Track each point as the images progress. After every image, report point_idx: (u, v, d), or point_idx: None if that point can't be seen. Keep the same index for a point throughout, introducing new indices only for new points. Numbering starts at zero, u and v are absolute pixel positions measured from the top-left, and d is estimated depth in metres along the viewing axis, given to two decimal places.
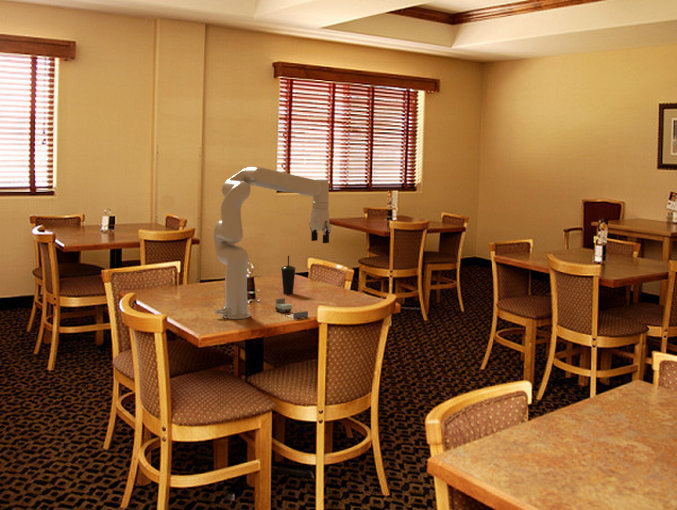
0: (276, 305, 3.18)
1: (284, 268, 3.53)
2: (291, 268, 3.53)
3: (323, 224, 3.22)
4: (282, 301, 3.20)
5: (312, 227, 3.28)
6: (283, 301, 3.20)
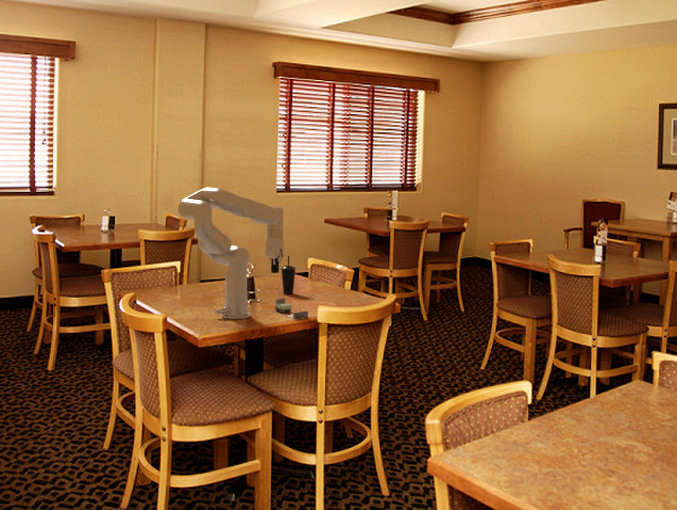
0: (276, 305, 3.18)
1: (284, 268, 3.53)
2: (291, 268, 3.53)
3: (276, 257, 3.17)
4: (282, 301, 3.20)
5: (267, 255, 3.21)
6: (283, 301, 3.20)
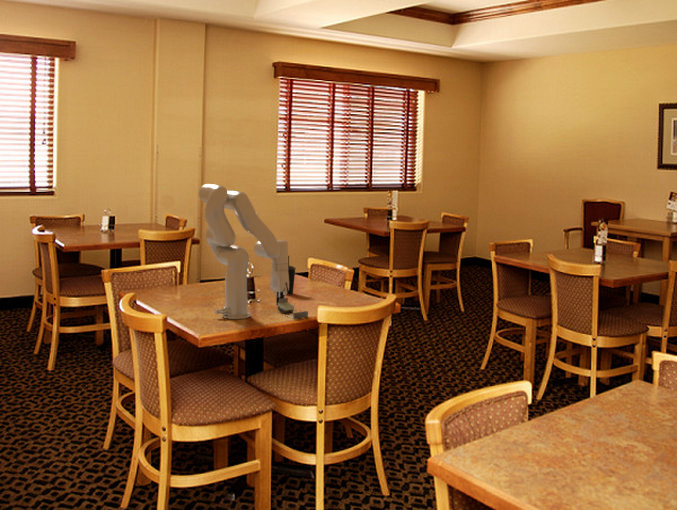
0: (279, 305, 3.17)
1: None
2: (291, 268, 3.53)
3: (281, 291, 3.16)
4: (285, 301, 3.19)
5: (272, 288, 3.20)
6: (286, 301, 3.19)
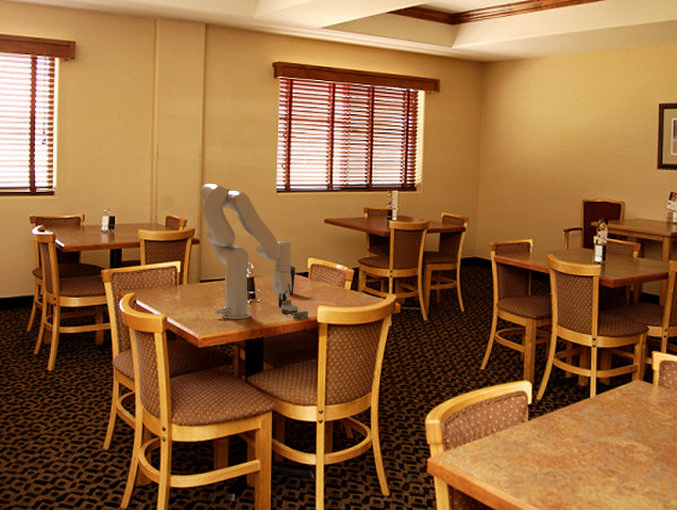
0: (282, 307, 3.15)
1: None
2: (291, 268, 3.53)
3: (284, 292, 3.14)
4: (288, 303, 3.17)
5: (274, 290, 3.18)
6: (289, 303, 3.17)
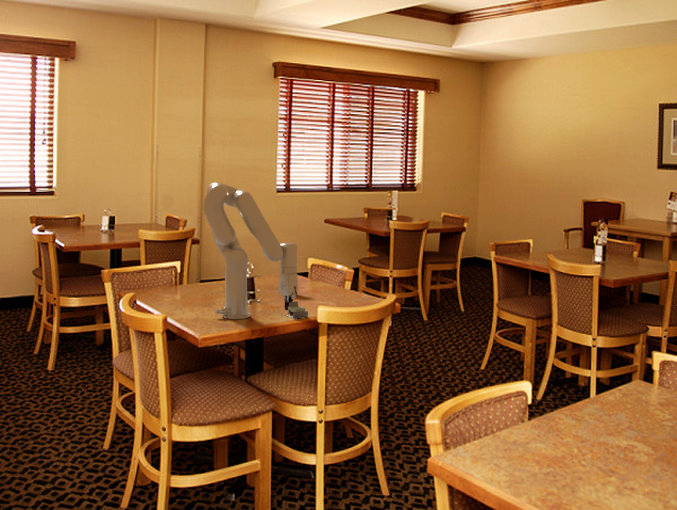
0: (289, 308, 3.11)
1: None
2: None
3: (290, 294, 3.09)
4: (295, 304, 3.13)
5: (280, 292, 3.14)
6: (296, 304, 3.13)
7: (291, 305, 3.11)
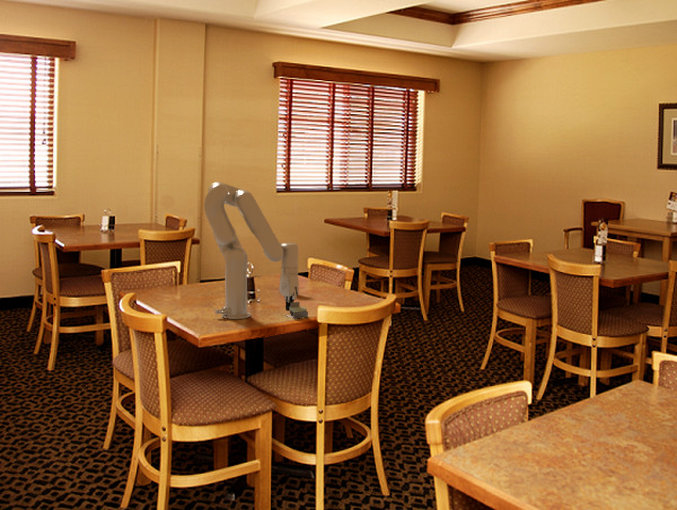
0: (291, 309, 3.10)
1: None
2: None
3: None
4: (297, 305, 3.12)
5: (281, 292, 3.13)
6: (298, 305, 3.12)
7: (292, 305, 3.10)
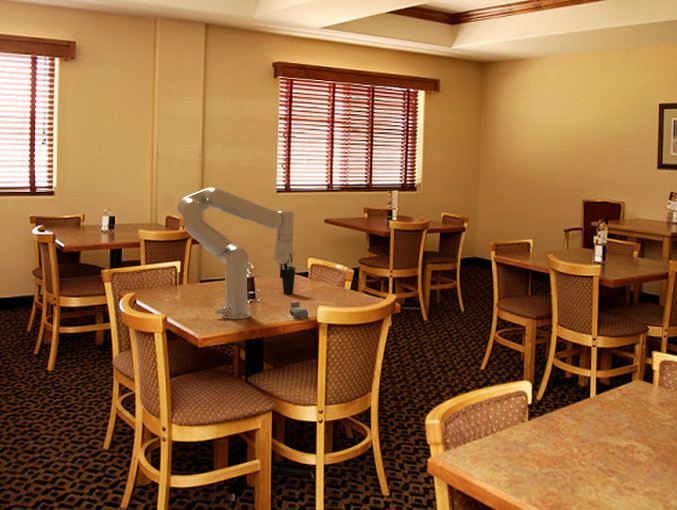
0: (291, 309, 3.10)
1: None
2: (291, 268, 3.53)
3: (285, 262, 3.10)
4: (297, 305, 3.12)
5: (276, 260, 3.14)
6: (298, 305, 3.12)
7: (292, 305, 3.10)
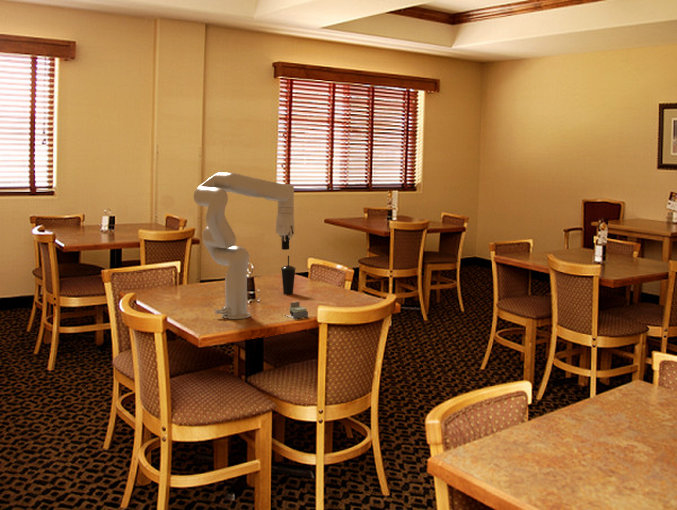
0: (291, 309, 3.10)
1: (284, 268, 3.53)
2: (291, 268, 3.53)
3: (287, 234, 3.22)
4: (297, 305, 3.12)
5: (277, 232, 3.27)
6: (298, 305, 3.12)
7: (292, 305, 3.10)
